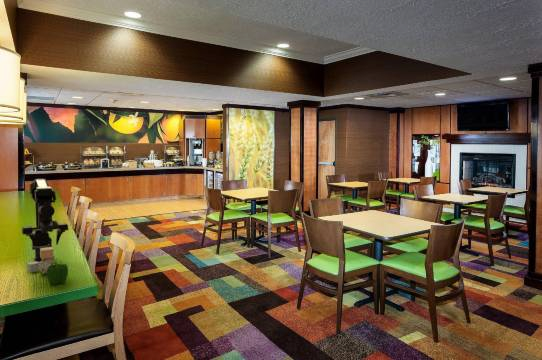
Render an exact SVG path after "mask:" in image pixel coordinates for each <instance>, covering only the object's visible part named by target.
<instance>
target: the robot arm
mask: <svg viewBox="0 0 542 360" xmlns="http://www.w3.org/2000/svg"><path fill="white" fill-rule="evenodd" d="M29 194H30V195H31V196H30V197H31V199H32V200H33V202H34V205H35V207H34V208H35V227H33V226H32V225H24V226H22V227H21V234H22V235H25V236H26V237H29V239H30V240H31V250H32V251H34V257H33V260H34V261H33V262H35V261H37V262H40V261H41V260H42V259H41V257H40V248H46V247H52V248H53V245H52V241H53V239H52V238H51V236H50V233H52V232H54V230H56V238H55V242H56V243H55V244H56V246H58V245H59V242H60V239H61V236H62V235H63V234H64V233H65V232H66V231H68V230H69V225H68V224H67V222H61V223H60V222H59V223H58V220H53V216H54V214H55V208H54V206H53V205H52V203H56V201H57V196H56V191H55V190H54V189H53V188H52V187H51V186H50V185H49V183H48V182H47V179H46V178H36V179H34V180H33V181H32V183H30V184H29ZM49 232H50V233H49Z"/></svg>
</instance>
